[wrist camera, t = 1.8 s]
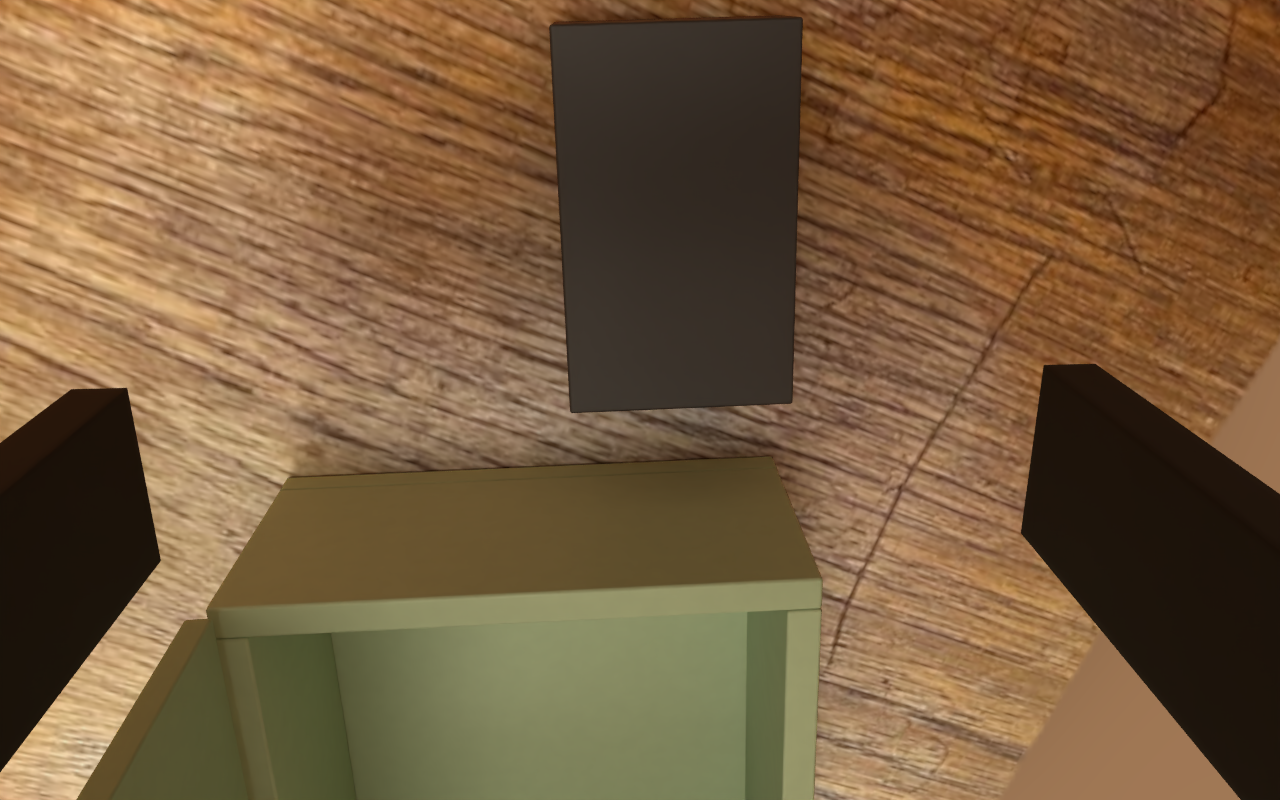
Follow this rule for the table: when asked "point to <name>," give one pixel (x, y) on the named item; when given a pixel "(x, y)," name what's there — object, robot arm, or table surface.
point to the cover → (176, 731)
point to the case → (526, 636)
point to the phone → (678, 209)
